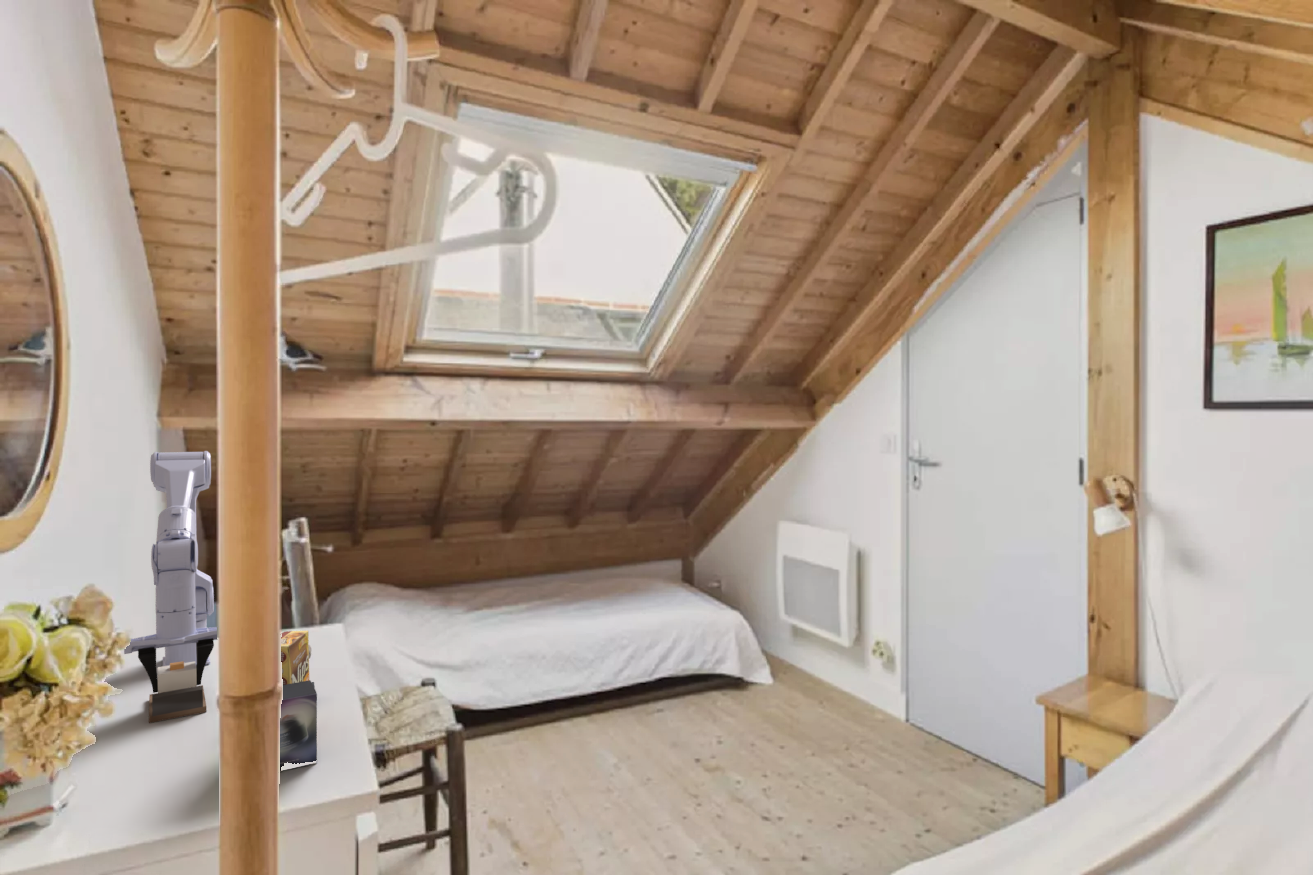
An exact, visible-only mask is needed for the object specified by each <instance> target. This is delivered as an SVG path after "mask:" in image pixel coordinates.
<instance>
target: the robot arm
mask: <svg viewBox="0 0 1313 875" xmlns="http://www.w3.org/2000/svg"><path fill="white" fill-rule="evenodd" d="M149 461H150V462H149V463H150V464H149V465H150V466H149V467H150V469H149V470H150V471H149V473H150V480H151V482H152V485H153V487H154V488H155V489H156V490H155V491H157V492H162V493H165V496H166V498H165V499H166V508H165V509H163V510H162V511H160V512H159V515H158V516H157V518H158V519H157V529H156V539H155V540H156V542H155V543H152V546H151V551H150V552H151V554H150V556H151V557H150V562H151V569H152V570H151V571H152V574H153V584H154V586H155V631H156V633H154V634H149V635H145V636H140V637H135V638H130V639H131V642H130V645H129V646H127V647H126V649H124V648H123V654H124V655H129V654H132V653H134V652H137V658H138V659H139V660H138V661H139V662H140V663H141V664H142V666H143V668H144V670H145V672H146V673H147V675H148V678H149V680H150V683H151V687H152V694H156V693H158V669H157V649H161V648H164V656H163V657H162V666H169V665H170V663H175V662H181V661H184V663H188V662H194V661H195V663H196V673H197V686H201V685H202V677H203V673H204V671H205V667H206V665H210V664H211V658H210V656H211V653H212V651H213V649H214V647H215V644H214V641H217V640H218V639H217V627H218V626H214V627H212V626H211V627H208V626H207V622H208V621H207V618H208V616H211V615H212V614H213V613H214V610H215V609H214V608H215V606H214V605H215V604H214V603H215V601H214V600H215V599H214V598H215V597H214V596H215V594H214V593H215V592H214V584H213V579H212V576H210V575H208V574H207V573H205V572H203V571H201V570H199V569H198V566H199V545H198V544H199V543H198V539H197V499H198V496H199V494H200V492H203V491H205V490H208V489H210V486H211V482H212V481H211V480H212V456H211V453H210V452H209V451H208V450H204V451H178V452H177V451H175V452H174V451H171V452H170V451H169V452H168V451H167V452H165V451H164V452H161V451H160V452H159V451H154V452H153V453H152V454H150V460H149Z"/></svg>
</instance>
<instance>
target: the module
mask: <svg viewBox="0 0 1313 875" xmlns="http://www.w3.org/2000/svg"><path fill="white" fill-rule="evenodd" d="M157 678H158V692H157V693H162V692H167V691H172V690H178V689H184V688H190V687H197V686H198V685H197V673H196V663H195V661H194V662H188V663H184V661H181V662H175V663H170V665H169V666H163V665H162V666H158V667H157Z"/></svg>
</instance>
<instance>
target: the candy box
mask: <svg viewBox="0 0 1313 875" xmlns="http://www.w3.org/2000/svg"><path fill="white" fill-rule="evenodd" d="M281 634H282V637H281V662H282V679H283V685H286V684H292V683H298V682H303V681H309V680H310V659H309V645H310V644H309V642H310V641H309V630H289V631H283V632H282V633H281Z"/></svg>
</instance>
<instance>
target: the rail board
mask: <svg viewBox="0 0 1313 875" xmlns="http://www.w3.org/2000/svg"><path fill="white" fill-rule="evenodd" d="M148 697H149V699H148V724H152V723H157V722H162V721H167V720H172V719H178V718H182V717H188V716H193V715H198V714H203V713H207V702H206V696H205V689H204V685H203V684H201V685H197V687H189V688H184V689H178V690H172V691H167V692H162V693H158V692H156V693H151V694H149V696H148Z"/></svg>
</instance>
